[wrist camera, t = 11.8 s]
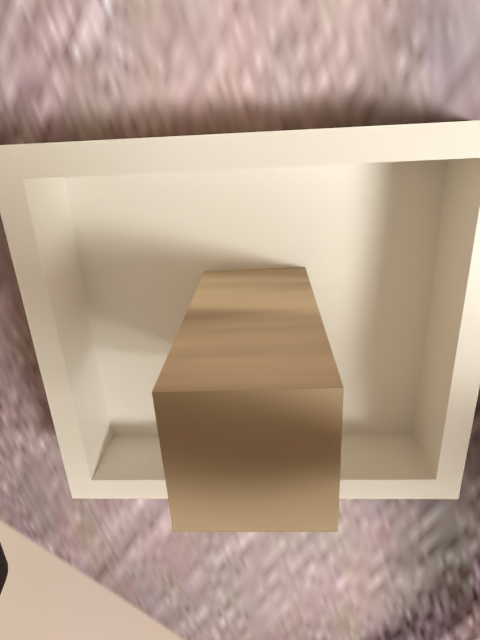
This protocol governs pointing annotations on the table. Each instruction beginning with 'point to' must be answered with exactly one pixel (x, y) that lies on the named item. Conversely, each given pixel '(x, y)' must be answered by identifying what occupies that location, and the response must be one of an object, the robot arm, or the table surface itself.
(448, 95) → the table surface
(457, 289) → the rectangular frame
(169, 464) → the strut
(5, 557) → the robot arm
